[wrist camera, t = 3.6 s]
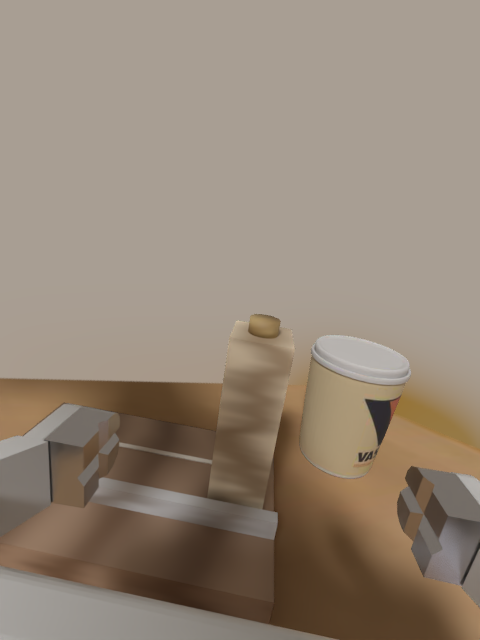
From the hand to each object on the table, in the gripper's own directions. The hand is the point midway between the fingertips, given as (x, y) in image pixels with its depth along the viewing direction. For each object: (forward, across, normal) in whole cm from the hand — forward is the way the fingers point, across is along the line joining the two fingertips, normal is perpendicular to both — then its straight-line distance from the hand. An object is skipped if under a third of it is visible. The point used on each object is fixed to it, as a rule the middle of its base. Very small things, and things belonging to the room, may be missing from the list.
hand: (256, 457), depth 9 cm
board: (+12, +8, +15) cm, 21 cm away
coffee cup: (+22, -10, +16) cm, 29 cm away
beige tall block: (+13, 0, +13) cm, 18 cm away
